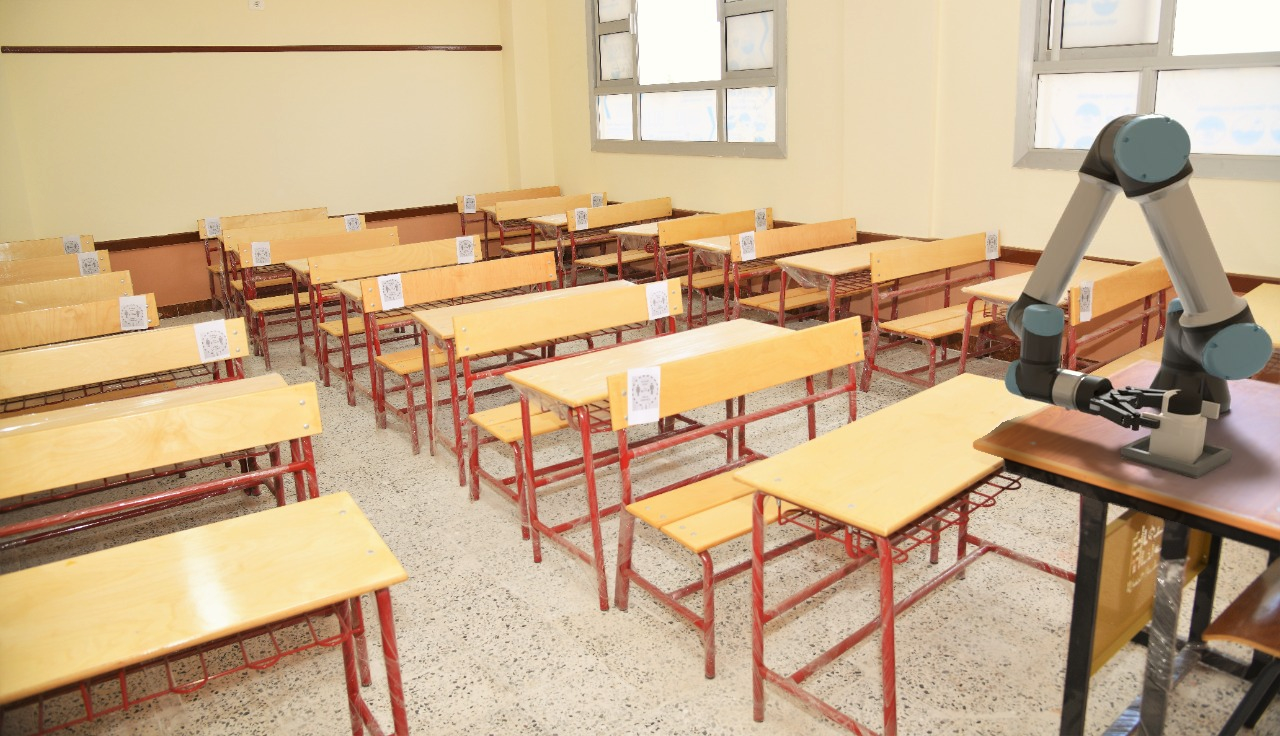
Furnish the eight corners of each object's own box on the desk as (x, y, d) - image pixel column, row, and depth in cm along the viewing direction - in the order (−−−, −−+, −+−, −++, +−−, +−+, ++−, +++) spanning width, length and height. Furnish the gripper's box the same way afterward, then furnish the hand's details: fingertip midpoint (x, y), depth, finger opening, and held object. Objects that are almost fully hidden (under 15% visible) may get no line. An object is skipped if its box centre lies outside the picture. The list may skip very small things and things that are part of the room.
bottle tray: (1156, 440, 170) (1157, 430, 169) (1230, 460, 160) (1232, 449, 159) (1120, 457, 163) (1121, 446, 162) (1195, 478, 153) (1197, 467, 152)
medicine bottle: (1202, 454, 161) (1211, 391, 158) (1192, 465, 156) (1201, 401, 153) (1158, 445, 166) (1166, 384, 163) (1147, 456, 161) (1155, 393, 158)
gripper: (1115, 397, 181) (1229, 424, 164) (1045, 425, 168) (1162, 456, 151) (1119, 362, 179) (1235, 385, 162) (1049, 387, 166) (1167, 415, 149)
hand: (1200, 420), depth 156 cm, fingers open, 13 cm apart
